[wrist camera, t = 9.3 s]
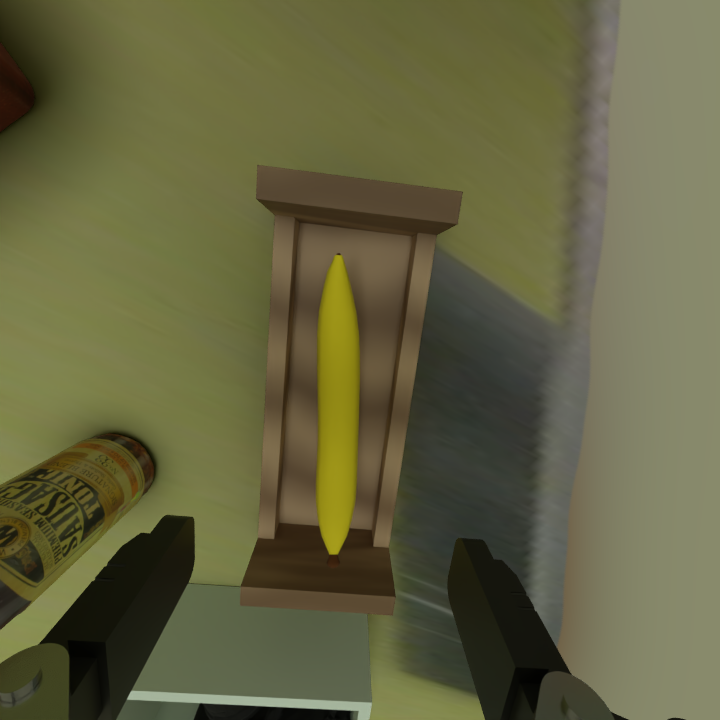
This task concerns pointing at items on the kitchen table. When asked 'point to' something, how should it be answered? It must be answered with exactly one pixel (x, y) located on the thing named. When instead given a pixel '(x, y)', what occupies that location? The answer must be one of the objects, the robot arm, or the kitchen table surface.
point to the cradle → (377, 378)
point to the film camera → (266, 713)
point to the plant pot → (13, 90)
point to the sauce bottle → (64, 513)
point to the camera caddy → (252, 659)
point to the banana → (337, 408)
